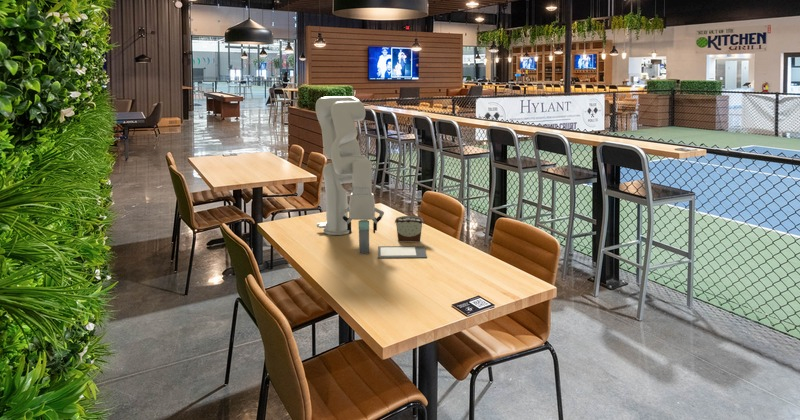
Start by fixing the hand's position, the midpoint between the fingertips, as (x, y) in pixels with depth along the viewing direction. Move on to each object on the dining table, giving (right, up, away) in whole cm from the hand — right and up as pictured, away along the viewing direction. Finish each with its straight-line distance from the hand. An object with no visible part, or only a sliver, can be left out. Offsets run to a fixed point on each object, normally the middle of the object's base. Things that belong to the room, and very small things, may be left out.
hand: (362, 232), depth 232 cm
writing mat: (+16, -8, 0) cm, 18 cm away
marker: (+1, -8, 0) cm, 8 cm away
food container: (+19, -4, +18) cm, 27 cm away
